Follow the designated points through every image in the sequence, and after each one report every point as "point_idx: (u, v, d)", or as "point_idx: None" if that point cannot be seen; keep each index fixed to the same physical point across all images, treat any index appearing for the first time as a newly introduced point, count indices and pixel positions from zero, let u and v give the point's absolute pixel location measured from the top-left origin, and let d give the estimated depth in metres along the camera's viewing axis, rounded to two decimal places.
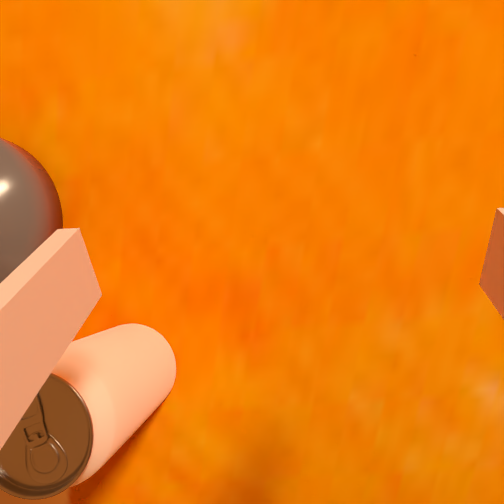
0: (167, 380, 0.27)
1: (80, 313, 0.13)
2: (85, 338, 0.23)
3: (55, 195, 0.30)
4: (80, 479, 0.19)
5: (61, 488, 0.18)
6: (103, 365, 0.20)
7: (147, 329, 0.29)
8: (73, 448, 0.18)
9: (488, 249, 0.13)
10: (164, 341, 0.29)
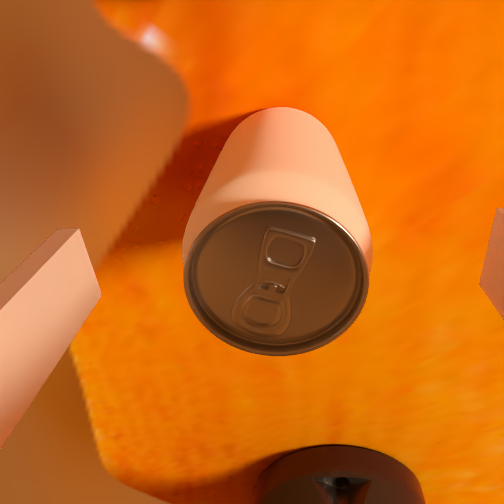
0: None
1: (80, 313, 0.13)
2: (323, 148, 0.16)
3: None
4: None
5: (263, 351, 0.14)
6: None
7: None
8: (303, 323, 0.13)
9: (489, 249, 0.13)
10: None
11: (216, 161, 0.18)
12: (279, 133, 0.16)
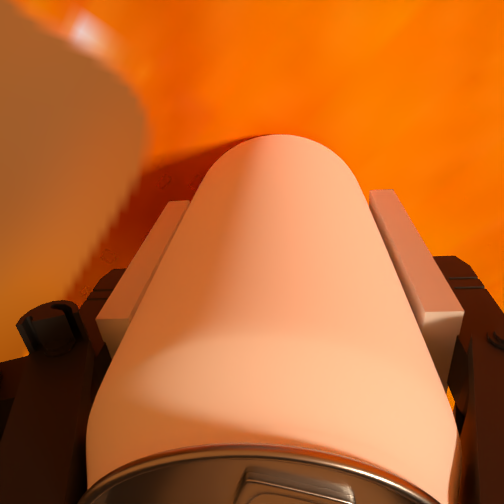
0: None
1: None
2: (353, 227, 0.09)
3: None
4: None
5: None
6: None
7: None
8: None
9: None
10: None
11: None
12: (276, 199, 0.09)
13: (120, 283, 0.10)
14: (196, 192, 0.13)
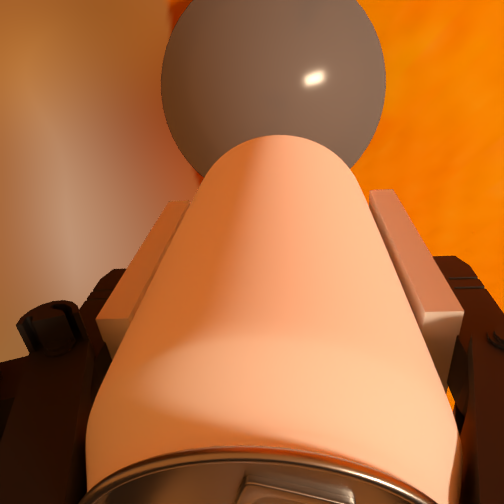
0: None
1: None
2: (353, 228, 0.09)
3: None
4: None
5: None
6: None
7: None
8: None
9: None
10: None
11: (175, 233, 0.11)
12: (276, 200, 0.09)
13: (120, 283, 0.10)
14: (196, 193, 0.13)
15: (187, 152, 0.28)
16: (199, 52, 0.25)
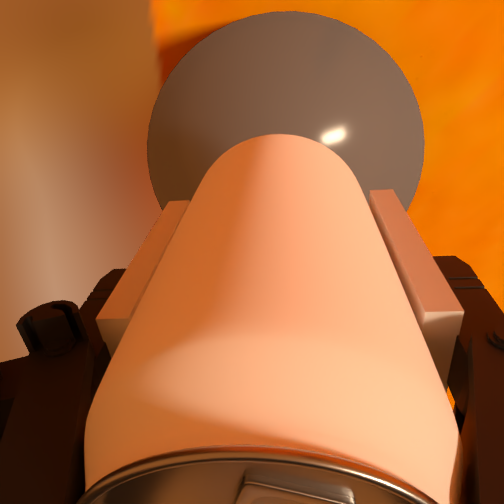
0: None
1: None
2: (353, 227, 0.09)
3: None
4: None
5: None
6: None
7: None
8: None
9: None
10: None
11: (175, 232, 0.11)
12: (276, 199, 0.09)
13: (120, 283, 0.10)
14: (196, 192, 0.13)
15: None
16: (194, 115, 0.20)
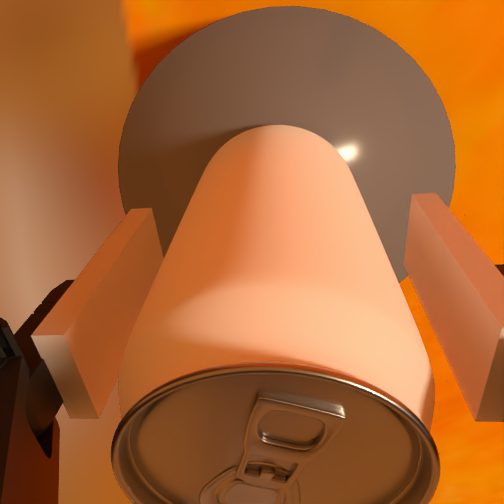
0: None
1: None
2: (344, 205, 0.10)
3: None
4: None
5: None
6: None
7: (353, 178, 0.15)
8: None
9: (409, 231, 0.14)
10: None
11: (185, 213, 0.12)
12: (277, 180, 0.10)
13: (63, 296, 0.10)
14: (201, 178, 0.14)
15: None
16: (174, 134, 0.16)
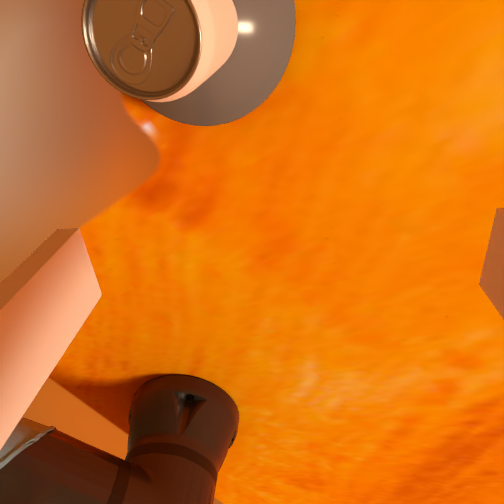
0: None
1: (80, 313, 0.13)
2: None
3: None
4: None
5: (126, 91, 0.20)
6: (219, 42, 0.21)
7: (236, 18, 0.27)
8: (156, 78, 0.20)
9: (489, 249, 0.13)
10: (235, 41, 0.28)
11: None
12: None
13: None
14: None
15: None
16: None
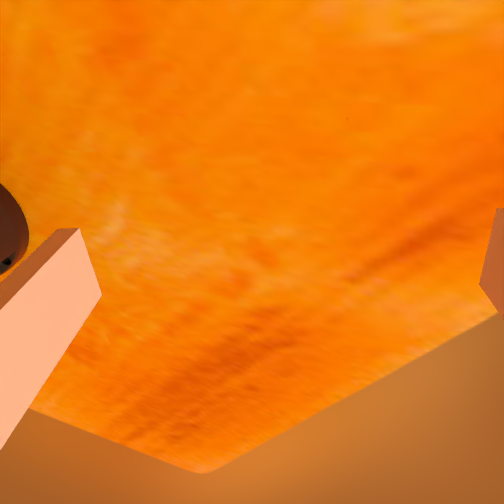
0: None
1: (80, 313, 0.13)
2: None
3: None
4: None
5: None
6: None
7: None
8: None
9: (488, 249, 0.13)
10: None
11: None
12: None
13: None
14: None
15: None
16: None
